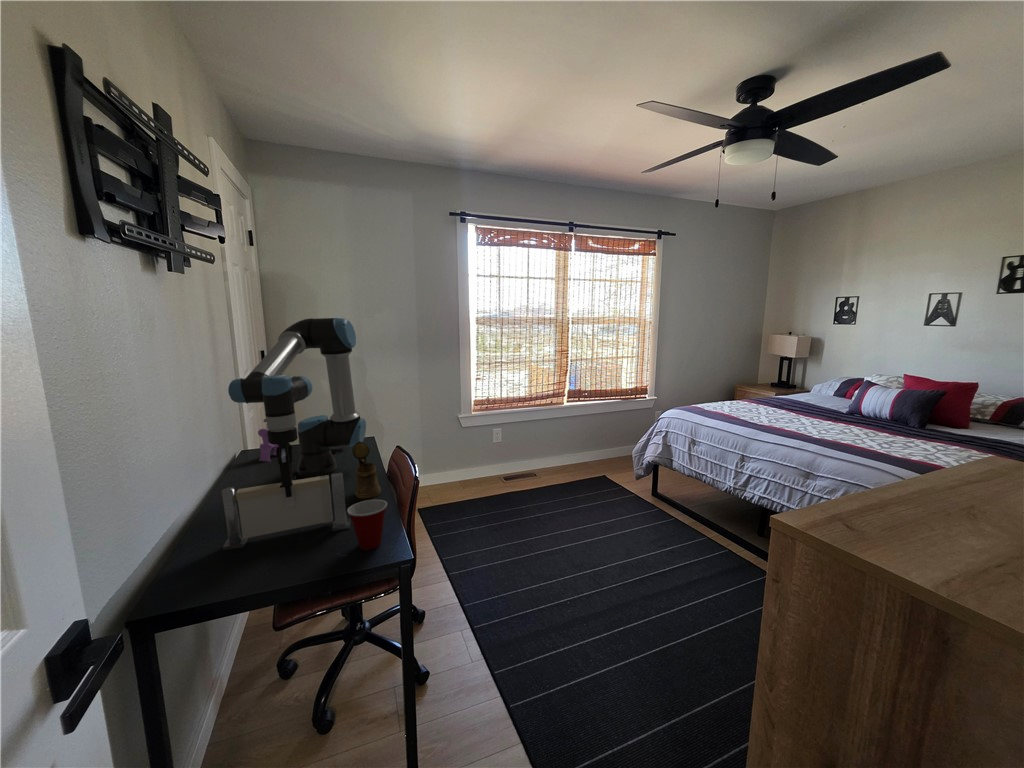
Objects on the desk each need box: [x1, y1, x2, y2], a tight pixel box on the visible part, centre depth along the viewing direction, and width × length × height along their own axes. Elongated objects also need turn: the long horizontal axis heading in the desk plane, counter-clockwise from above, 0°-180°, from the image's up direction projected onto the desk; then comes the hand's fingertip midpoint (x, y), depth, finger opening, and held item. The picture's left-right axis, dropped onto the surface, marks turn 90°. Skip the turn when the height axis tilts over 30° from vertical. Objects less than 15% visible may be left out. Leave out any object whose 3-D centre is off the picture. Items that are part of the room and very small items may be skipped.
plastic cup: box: [346, 499, 388, 551], centre depth 115 cm, size 11×11×12 cm
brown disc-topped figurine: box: [352, 441, 382, 500], centre depth 149 cm, size 9×14×18 cm, turn 33°
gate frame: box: [221, 472, 351, 551], centre depth 120 cm, size 5×34×17 cm, turn 110°
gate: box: [235, 474, 334, 539], centre depth 121 cm, size 3×24×14 cm, turn 114°
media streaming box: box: [330, 447, 345, 454], centre depth 199 cm, size 15×15×3 cm
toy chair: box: [257, 428, 279, 463], centre depth 187 cm, size 8×9×15 cm
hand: (290, 503), depth 121 cm, fingers closed on gate, 3 cm apart
